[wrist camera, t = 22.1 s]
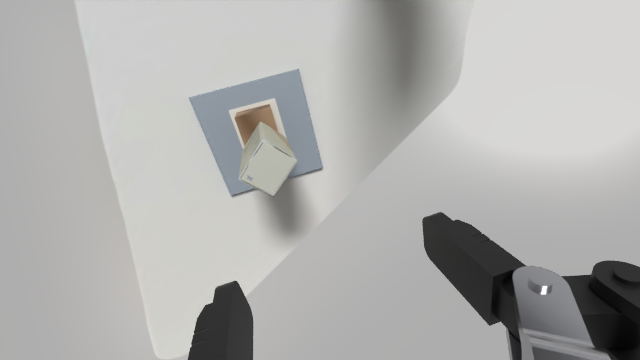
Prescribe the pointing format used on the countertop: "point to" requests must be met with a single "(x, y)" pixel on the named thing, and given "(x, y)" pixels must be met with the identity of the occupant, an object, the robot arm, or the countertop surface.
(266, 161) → the box
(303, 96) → the plate
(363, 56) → the countertop surface
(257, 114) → the walnut slab
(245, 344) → the robot arm
